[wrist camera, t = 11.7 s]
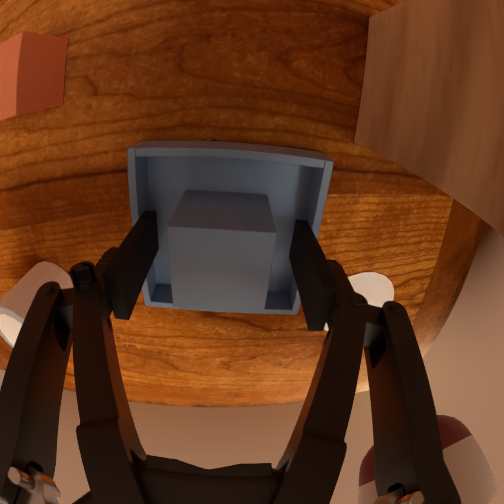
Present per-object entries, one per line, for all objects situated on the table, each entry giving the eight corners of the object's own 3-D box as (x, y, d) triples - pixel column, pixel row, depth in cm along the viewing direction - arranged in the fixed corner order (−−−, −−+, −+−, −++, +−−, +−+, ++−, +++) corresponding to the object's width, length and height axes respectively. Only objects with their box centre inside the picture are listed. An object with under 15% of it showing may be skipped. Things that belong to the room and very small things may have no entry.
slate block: (267, 194, 16) (277, 232, 12) (258, 262, 19) (263, 313, 15) (185, 189, 16) (165, 226, 12) (186, 258, 19) (173, 308, 14)
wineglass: (389, 326, 25) (457, 502, 8) (308, 342, 25) (348, 547, 8) (407, 263, 20) (523, 474, 3) (311, 277, 21) (383, 560, 4)
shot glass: (84, 270, 19) (47, 331, 14) (85, 322, 23) (60, 377, 17) (25, 245, 18) (-18, 293, 12) (33, 297, 21) (2, 345, 15)
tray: (321, 152, 16) (334, 161, 13) (292, 292, 21) (297, 314, 19) (141, 140, 15) (126, 148, 13) (153, 284, 20) (144, 305, 18)
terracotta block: (69, 38, 10) (22, 31, 6) (63, 105, 13) (15, 115, 8) (20, 57, 10) (-25, 60, 5) (17, 117, 12) (-28, 132, 8)
